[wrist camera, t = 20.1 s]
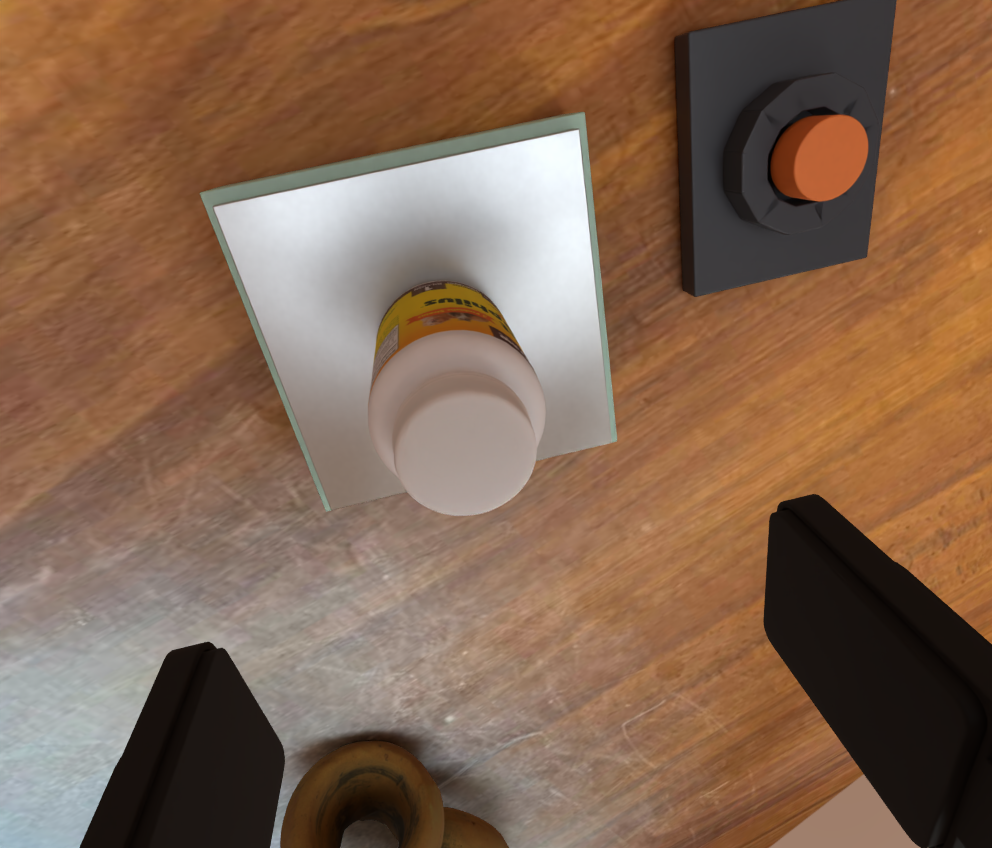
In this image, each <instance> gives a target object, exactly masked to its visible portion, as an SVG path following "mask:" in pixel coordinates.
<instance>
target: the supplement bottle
mask: <svg viewBox="0 0 992 848" xmlns="http://www.w3.org/2000/svg"><path fill="white" fill-rule="evenodd" d="M545 417H546V406H545V398H544V393H543V390H542V387H541V384H540V382H539V380H538V378H537V375H536V373H535V371H534V368H533V367H532V366H531V364H530V363H529V361H528V359H527V357H526V356H525V354H524V352H523V350H522V349H521V347H520V345H519V343H518V341H517V340H516V338H515V336H514V334H513V333H512V331H511V329H510V327H509V326H508V324H507V322H506V320H505V319H504V317H503V315H502V314H501V312H500V311H499V309H498V308H497V306H496V305H495V304H494V303H493V302H492V301H491V300H490V299H489V298H488V297H487V296H486V295H485V294H483V293H482V292H480V291H479V290H477V289H475V288H474V287H472V286H469V285H466V284H463V283H460V282H455V281H447V280H440V281H431V282H427V283H423V284H419V285H417V286H415V287H413V288H411V289H409V290H407V291H406V292H404V293H403V294H401V295H400V296H399V297H398V298H397V299H396V300H395V301H394V302H393V303H392V304H391V305H390V307H389V308H388V310H387V311H386V313H385V314H384V316H383V318H382V321H381V323H380V326H379V329H378V333H377V339H376V347H375V355H374V363H373V371H372V379H371V387H370V395H369V403H368V425H369V431H370V436H371V439H372V442H373V445H374V447H375V450H376V451H377V453H378V455H379V457H380V458H381V460H382V461H383V462H384V464H385V465H386V467H387V468H388V469H389V470H390V471H391V472H392V473H393V474H394V475H396V476H397V477H398V478H399V480H400V482H401V484H402V485H403V487H404V488H405V490H406V491H407V492H408V493H409V494H410V496H411V497H412V498H413V499H414V500H416V501H417V502H419V503H420V504H421V505H423V506H425V507H427V508H429V509H431V510H433V511H436V512H439V513H442V514H446V515H453V516H469V515H477V514H481V513H485V512H488V511H491V510H493V509H495V508H497V507H499V506H501V505H503V504H505V503H506V502H508V501H509V500H511V499H512V498H513V497H514V496H515V495H516V494H518V492H519V491H520V490H521V489H522V488H523V487H524V486H525V484H526V483H527V481H528V479H529V477H530V476H531V473H532V471H533V468H534V466H535V461H536V455H537V447H538V444H539V442H540V439H541V437H542V434H543V430H544V426H545Z"/></svg>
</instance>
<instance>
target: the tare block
mask: <svg viewBox="0 0 992 848" xmlns="http://www.w3.org/2000/svg"><path fill="white" fill-rule="evenodd" d="M895 9H896V0H841V1H836V2H831V3H827V4H822V5H817V6H812V7H807V8H802V9H797V10H792V11H788V12H783V13H778V14H773V15H768V16H763V17H758V18H754V19H749V20H744V21H739V22H734V23H729V24H724V25H719V26H715V27H710V28H705V29H700V30H695V31H690V32H687V33H684V34H681V35H679V36H676V37H675V65H676V95H677V126H678V156H679V187H680V217H681V248H682V278H683V291H685V292H687V293H689V294H690V295H692V296H694V297H697V296H701V295H706V294H710V293H714V292H719V291H723V290H728V289H732V288H736V287H741V286H745V285H749V284H754V283H758V282H762V281H767V280H771V279H775V278H780V277H784V276H788V275H793V274H797V273H801V272H806V271H810V270H815V269H819V268H823V267H828V266H832V265H836V264H841V263H845V262H849V261H854V260H858V259H862V258H866V257H867V252H868V244H869V235H870V226H871V218H872V209H873V200H874V192H875V183H876V174H877V165H878V157H879V148H880V139H881V131H882V122H883V113H884V105H885V96H886V87H887V78H888V70H889V61H890V52H891V44H892V35H893V26H894V18H895ZM818 115H848V116H851V117H853V118H855V119H856V120H857V121H859V122H860V123H861V125H862V126H863V127H864V129H865V131H866V134H867V138H868V155H867V160H866V163H865V166H864V168H863V170H862V172H861V174H860V176H859V177H858V179H857V180H856V182H855V183H854V184H853V185H852V186H851V187H850V188H849V189H848V190H847V191H846V192H844V193H843V194H842V195H840V196H838V197H836V198H834V199H832V200H828V201H820V202H818V201H812V200H805V199H799V198H793V197H789V196H786V195H784V194H783V193H781V192H780V191H779V190H778V189H777V187H776V186H775V184H774V182H773V180H772V177H771V171H770V164H771V157H772V153H773V150H774V148H775V145H776V143H777V141H778V140H779V138H780V137H781V135H782V134H783V133H784V132H785V130H786V129H787V128H788V127H790V126H791V125H792V124H793V123H795V122H796V121H798V120H800V119H802V118H805V117H808V116H818Z"/></svg>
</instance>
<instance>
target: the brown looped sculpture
mask: <svg viewBox="0 0 992 848" xmlns="http://www.w3.org/2000/svg"><path fill="white" fill-rule="evenodd" d="M357 820H361V821H364V820H377V821H379V822H381V823H383V824H385V825H386V826H387V827H388V828H389V830H390V831H391V832H392V833H393V834H394V836H395V837H396V839H397V840H398V842H399V847H398V848H509V847H508V846H507V844H506V842H505V840H504V838H503V837H502V835H501V834H500V833H499V832H498V831H497V830H496V829H495V828H494V827H493V826H492V825H490V824H489V823H487V822H486V821H484V820H482V819H480V818H478V817H476V816H474V815H472V814H470V813H467V812H464V811H461V810H457V809H454V808H449V807H443V801H442V797H441V792H440V790H439V788H438V786H437V784H436V783H435V782H434V780H433V779H432V777H431V776H430V774H429V772H428V771H427V770H426V768H425V767H424V766H423V764H422V763H421V762H420V761H419V760H418V759H417V758H416V757H415V756H413V755H412V754H411V753H410V752H408V751H407V750H405V749H403V748H401V747H399V746H397V745H394V744H392V743H389V742H385V741H378V740H375V741H368V742H366V741H359V742H355V743H351V744H347V745H345V746H342V747H340V748H338V749H336V750H334V751H333V752H331V753H329V754H327V755H326V756H324V757H323V758H321V759H320V760H319V761H318V762H317V763H316V764H315V765H313V766H312V767H311V768H310V769H309V771H308V772H307V773H306V774H305V775H304V776H303V778H302V779H301V781H300V782H299V784H298V785H297V787H296V789H295V790H294V792H293V794H292V796H291V799H290V801H289V803H288V806H287V809H286V813H285V816H284V820H283V825H282V830H281V841H280V847H281V848H340V846H341V841H342V837H343V833H344V831H345V829H346V828H347V827H348V826H350V825H351V824H352V823H353V822H355V821H357Z"/></svg>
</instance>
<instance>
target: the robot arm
mask: <svg viewBox="0 0 992 848" xmlns="http://www.w3.org/2000/svg"><path fill="white" fill-rule="evenodd" d="M764 628H765V631H766V634H767V637H768V639H769V641H770V642H771V644H772V645H773V647H774V648H775V650H776V651H777V652H778V654H779V655H780V657H781V658H782V659H783V661H784V662H785V664H786V665H787V666H788V668H789V669H790V671H791V672H792V674H793V675H794V676H795V678H796V679H797V681H798V682H799V683H800V685H801V686H802V688H803V689H804V690H805V692H806V693H807V695H808V696H809V697H810V699H811V700H812V702H813V703H814V704H815V706H816V707H817V709H818V710H819V711H820V713H821V714H822V716H823V717H824V719H825V720H826V721H827V723H828V724H829V726H830V727H831V728H832V730H833V731H834V733H835V734H836V735H837V737H838V738H839V740H840V741H841V742H842V744H843V745H844V747H845V748H846V749H847V751H848V752H849V754H850V755H851V757H852V758H853V759H854V761H855V762H856V764H857V765H858V766H859V768H860V769H861V771H862V772H863V773H864V775H865V776H866V778H867V779H868V780H869V782H870V783H871V785H872V786H873V787H874V789H875V790H876V792H877V793H878V794H879V796H880V797H881V799H882V800H883V802H884V803H885V804H886V806H887V807H888V809H889V810H890V811H891V813H892V814H893V816H894V817H895V818H896V820H897V821H898V823H899V824H900V825H901V827H902V828H903V830H904V831H905V832H906V834H907V835H908V836H909V838H910V839H911V840H912V841H913V842H914V843H915V844H916V845H918V846H919V847H921V848H992V644H991V643H989V642H988V641H987V640H986V639H985V638H984V637H983V636H982V635H980V634H979V633H978V632H977V631H976V630H975V629H974V628H973V627H971V626H970V625H969V624H968V623H967V622H966V621H965V620H963V619H962V618H961V617H960V616H959V615H958V614H957V613H956V612H954V611H953V610H952V609H951V608H950V607H949V606H948V605H946V604H945V603H944V602H943V601H942V600H941V599H940V598H939V597H937V596H936V595H935V594H934V593H933V592H932V591H931V590H930V589H928V588H927V587H926V586H925V585H924V584H923V583H922V582H920V581H919V580H918V579H917V578H916V577H915V576H914V575H913V574H911V573H910V572H909V571H908V570H907V569H905V568H904V567H903V566H901V565H900V564H898V563H897V562H894V561H893V560H892V559H891V558H890V557H888V556H887V555H886V554H885V553H884V552H883V551H882V550H881V549H879V548H878V547H877V546H876V545H875V544H874V543H873V542H872V541H870V540H869V539H868V538H867V537H866V536H865V535H864V534H863V533H862V532H860V531H859V530H858V529H857V528H856V527H855V526H854V525H853V524H851V523H850V522H849V521H848V520H847V519H846V518H845V517H844V516H842V515H841V514H840V513H839V512H838V511H837V510H836V509H835V508H833V507H832V506H831V505H830V504H829V503H828V502H827V501H826V500H824V499H823V498H822V497H820V496H819V495H816V494H812V495H808V496H804V497H800V498H795V499H791V500H787V501H783V502H780V504H779V505H778V508H777V512H775V513H772V514H771V516H770V520H769V537H768V554H767V571H766V588H765V605H764ZM284 765H285V756H284V750H283V746H282V744H281V742H280V740H279V738H278V737H277V735H276V733H275V731H274V730H273V728H272V726H271V725H270V723H269V721H268V720H267V718H266V716H265V715H264V713H263V711H262V710H261V708H260V706H259V705H258V703H257V701H256V700H255V698H254V696H253V695H252V693H251V691H250V689H249V688H248V686H247V684H246V683H245V681H244V679H243V678H242V676H241V674H240V673H239V671H238V669H237V668H236V666H235V664H234V663H233V661H232V659H231V658H230V656H229V654H228V653H227V651H226V650H225V649H223V648H218V649H217V648H216V647H215V646H214V645H213V644H212V643H210V642H204V643H200V644H196V645H192V646H188V647H184V648H180V649H176V650H172V651H171V652H169V653H168V654H167V656H166V658H165V659H164V661H163V664H162V666H161V668H160V671H159V673H158V675H157V677H156V680H155V682H154V684H153V686H152V689H151V691H150V693H149V696H148V698H147V700H146V702H145V705H144V707H143V709H142V712H141V714H140V716H139V718H138V721H137V723H136V725H135V728H134V730H133V732H132V734H131V737H130V739H129V741H128V743H127V746H126V748H125V750H124V753H123V755H122V757H121V758H120V760H119V762H118V763H117V765H116V767H115V769H114V771H113V773H112V775H111V778H110V780H109V782H108V784H107V787H106V789H105V791H104V793H103V796H102V798H101V800H100V802H99V805H98V807H97V809H96V812H95V814H94V816H93V818H92V821H91V823H90V825H89V827H88V830H87V832H86V834H85V836H84V839H83V841H82V843H81V845H80V848H270V844H271V839H272V833H273V828H274V822H275V817H276V811H277V805H278V800H279V794H280V789H281V783H282V778H283V772H284Z"/></svg>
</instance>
